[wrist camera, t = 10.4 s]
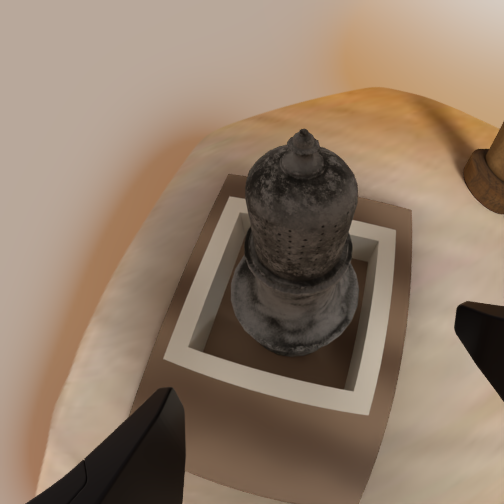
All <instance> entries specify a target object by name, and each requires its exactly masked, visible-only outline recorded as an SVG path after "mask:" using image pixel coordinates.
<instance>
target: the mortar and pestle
mask: <svg viewBox="0 0 504 504" xmlns="http://www.w3.org/2000/svg"><path fill="white" fill-rule="evenodd" d="M464 178H465V181H466V184H467V186H468V188H469V190H470V191H471V193H472V194H473V195H474V197H475V198H476V199H477V200H478V201H479V202H480V203H481V204H483V205H484V206H485V207H487V208H488V209H490V210H491V211H493V212H495V213H498V214H504V122H503V124H502V126H501V128H500V130H499V132H498V134H497V136H496V138H495V140H494V142H493V143H492V145H491V147H490V149H477V150H475V151H474V152H473V154H472V155H471V157H470V159H469V161H468V162H467V164H466V166H465V168H464Z"/></svg>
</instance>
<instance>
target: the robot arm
mask: <svg viewBox="0 0 504 504" xmlns="http://www.w3.org/2000/svg"><path fill="white" fill-rule="evenodd" d="M454 329H455V333H456V335H457V336H458V337H459V339H460V340H461V342H462V343H463V345H464V347H465V348H466V350H467V351H468V353H469V354H470V356H471V357H472V359H473V361H474V362H475V364H476V365H477V366H478V368H479V369H480V370H481V372H482V373H483V374H484V376H485V377H486V378H487V380H488V381H489V382H490V384H491V385H492V386H493V388H494V389H495V390H496V392H497V393H498V395H499V396H500V397H501V399H502V400H503V402H504V306H498V305H491V304H484V303H477V302H470V301H466V302H464V303H462V304H460V305H459V306H458V307H457V310H456V318H455V325H454ZM185 462H186V440H185V411H184V407H183V405H182V403H181V401H180V399H179V397H178V395H177V393H176V391H175V390H174V388H173V387H162V388H158V389H157V390H156V391H155V392H154V393H153V394H152V395H151V396H150V397H149V398H148V399H147V400H146V401H145V402H144V403H143V404H142V405H141V406H140V407H139V408H138V409H137V410H136V411H135V412H134V413H132V414H131V415H130V416H129V417H128V418H127V419H126V420H125V421H124V422H123V423H122V424H121V425H120V426H119V427H118V428H117V429H116V430H115V431H114V432H113V433H111V434H110V435H109V436H108V437H107V438H106V439H105V440H104V441H103V442H102V443H101V444H100V445H99V446H98V447H96V448H95V449H94V450H93V451H92V452H91V453H90V454H89V455H88V456H87V457H86V458H85V460H82V461H81V462H80V463H79V464H78V465H77V466H76V467H75V468H73V469H72V470H71V471H70V472H69V473H68V474H66V475H65V476H64V477H63V478H61V479H60V480H59V481H57V482H56V483H55V484H53V485H52V486H51V487H49V488H48V489H46V490H45V491H44V492H42V493H41V494H39V495H38V496H36V497H35V498H33V499H32V500H30V501H29V502H27V503H26V504H182V501H183V487H184V474H185Z"/></svg>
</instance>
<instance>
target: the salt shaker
mask: <svg viewBox="0 0 504 504" xmlns="http://www.w3.org/2000/svg"><path fill="white" fill-rule="evenodd" d="M245 200H246V205H247V210H248V215H249V220H250V225H251V226H250V228H249V229H248V231H247V234H246V238H245V241H244V256H243V257H242V259H241V261H240V262H239V264H238V266H237V267H236V269H235V272H234V275H233V279H232V282H231V302H232V306H233V309H234V313H235V316H236V317H237V319H238V321H239V322H240V324H241V325H242V327H243V329H244V330H245V331H246V332H247V333H248V334H249V335H250V336H251V337H253V338H254V339H255V340H256V341H257V342H259V343H260V344H261V345H262V346H263V347H264V348H266V349H267V350H269V351H271V352H273V353H275V354H277V355H282V356H287V357H297V356H304V355H307V354H310V353H313V352H315V351H317V350H318V349H320V348H321V347H323V346H326V345H328V344H329V343H330V342H332V341H333V340H334V339H336V338H337V337H339V336H340V335H341V334H342V333H343V331H344V330H345V329H346V328H347V326H348V325H349V324H350V322H351V321H352V319H353V316H354V314H355V311H356V309H357V306H358V297H359V286H358V281H357V275H356V273H355V271H354V269H353V267H352V265H351V263H350V262H351V260H352V250H353V246H352V241H351V237H350V234H349V229H350V226H351V223H352V220H353V217H354V213H355V210H356V207H357V203H358V187H357V182H356V179H355V176H354V174H353V172H352V171H351V169H350V168H349V167H348V165H347V164H346V163H345V162H344V161H343V160H342V159H341V158H340V157H339V156H338V155H336V154H335V153H333V152H331V151H330V150H328V149H326V148H323V147H320V145H319V142H318V140H316V139H315V138H314V137H313V135H312V134H310V133H309V132H308V130H306V129H301V130H300V131H299V132H298V133H296V134H295V135H294V136H293V137H291V138H290V139H289V141H288V142H287V145H284V146H280V147H277V148H275V149H273V150H270V151H269V152H267V153H266V154H265V155H263V156H262V157H261V158H260V159H259V160H258V161H257V162H256V163H255V164H254V165H253V167H252V168H251V169H250V171H249V174H248V177H247V179H246V185H245Z"/></svg>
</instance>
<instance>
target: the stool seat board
mask: <svg viewBox="0 0 504 504" xmlns="http://www.w3.org/2000/svg"><path fill="white" fill-rule="evenodd" d="M246 179H247V177H246V176H239V175H232V174H228V176H227V178H226V180H225V182H224V184H223V187H222V189H221V191H220V193H219V195H218V197H217V199H216V201H215V203H214V205H213V208H212V210H211V212H210V214H209V216H208V218H207V221H206V223H205V225H204V227H203V229H202V232H201V234H200V236H199V238H198V240H197V243H196V245H195V247H194V249H193V252H192V254H191V256H190V259H189V261H188V263H187V265H186V268H185V270H184V272H183V275H182V277H181V280H180V282H179V284H178V287H177V289H176V292H175V294H174V296H173V299H172V301H171V304H170V306H169V309H168V311H167V314H166V316H165V319H164V321H163V324H162V326H161V329H160V331H159V334H158V337H157V339H156V342H155V344H154V347H153V350H152V352H151V355H150V358H149V360H148V363H147V366H146V369H145V371H144V374H143V377H142V380H141V383H140V385H139V388H138V391H137V394H136V397H135V400H134V403H133V406H132V409H131V412H130V415H131V414H132V413H134V412H135V411H136V410H137V409H138V408H139V407H140V406H141V405H142V404H143V403H144V402H145V401H146V400H147V399H148V398H149V397H150V396H151V395H152V394H153V393H154V392H155V391H156V390H157V389H158V388H162V387H173V388H174V390H175V391H176V393H177V395H178V397H179V399H180V401H181V403H182V405H183V407H184V411H185V440H186V462H185V471H187V472H189V473H192V474H194V475H197V476H199V477H202V478H205V479H207V480H210V481H213V482H216V483H218V484H221V485H224V486H227V487H230V488H234V489H237V490H240V491H243V492H247V493H251V494H254V495H258V496H262V497H266V498H270V499H274V500H279V501H284V502H289V503H294V504H359V501H360V499H361V497H362V494H363V492H364V490H365V487H366V485H367V482H368V480H369V477H370V474H371V472H372V469H373V466H374V463H375V461H376V458H377V455H378V452H379V449H380V445H381V442H382V439H383V436H384V432H385V429H386V425H387V422H388V418H389V414H390V411H391V407H392V402H393V398H394V394H395V389H396V385H397V380H398V375H399V370H400V365H401V359H402V353H403V347H404V340H405V333H406V325H407V317H408V307H409V296H410V282H411V262H412V211H411V210H409V209H406V208H402V207H398V206H394V205H390V204H386V203H382V202H378V201H373V200H369V199H365V198H360V197H358V203H357V207H356V210H355V213H354V217H353V220H352V223H351V226H350V229H349V234H350V237H351V241H352V246H353V250H352V260H351V262H350V263H351V265H352V267H353V269H354V271H355V273H356V275H357V281H358V286H359V297H358V306H357V309H356V311H355V314H354V316H353V319H352V321H351V322H350V324H349V325H348V326H347V328H346V329H345V330H344V331H343V333H342V334H341V335H340V336H339V337H337V338H336V339H334V340H333V341H332V342H330V343H329V344H328V345H326V346H323V347H321V348H320V349H318V350H317V351H315V352H313V353H310V354H307V355H304V356H297V357H287V356H282V355H277V354H275V353H273V352H271V351H269V350H267V349H266V348H264V347H263V346H262V345H261V344H260V343H259V342H257V341H256V340H255V339H254V338H253V337H251V336H250V335H249V334H248V333H247V332H246V331H245V330H244V329H243V327H242V325H241V324H240V322H239V321H238V319H237V317H236V316H235V313H234V309H233V306H232V302H231V282H232V279H233V275H234V272H235V269H236V267H237V266H238V264H239V262H240V261H241V259H242V257H243V256H244V241H245V238H246V234H247V231H248V229H249V228H250V226H251V225H250V220H249V215H248V210H247V205H246V200H245V185H246ZM130 415H129V416H130Z"/></svg>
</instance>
